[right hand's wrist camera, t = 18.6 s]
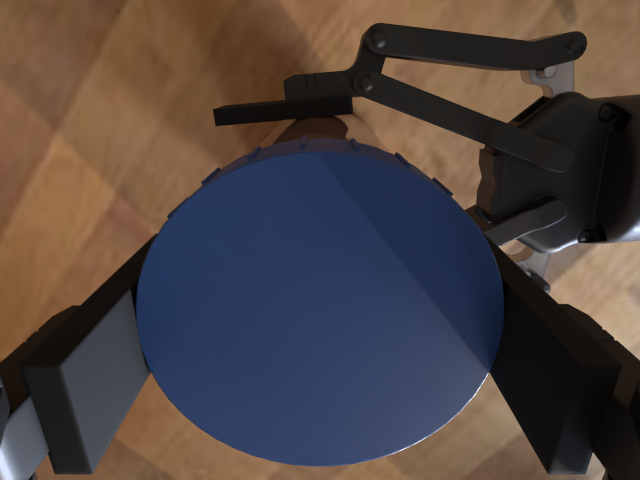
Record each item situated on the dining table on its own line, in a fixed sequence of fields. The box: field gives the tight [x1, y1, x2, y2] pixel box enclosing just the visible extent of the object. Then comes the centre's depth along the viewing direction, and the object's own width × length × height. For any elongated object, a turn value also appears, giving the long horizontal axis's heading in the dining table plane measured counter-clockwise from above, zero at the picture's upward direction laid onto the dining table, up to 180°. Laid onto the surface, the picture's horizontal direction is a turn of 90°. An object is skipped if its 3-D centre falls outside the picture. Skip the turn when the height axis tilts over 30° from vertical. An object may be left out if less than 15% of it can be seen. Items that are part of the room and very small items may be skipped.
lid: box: [135, 136, 505, 466], centre depth 11 cm, size 9×9×2 cm
